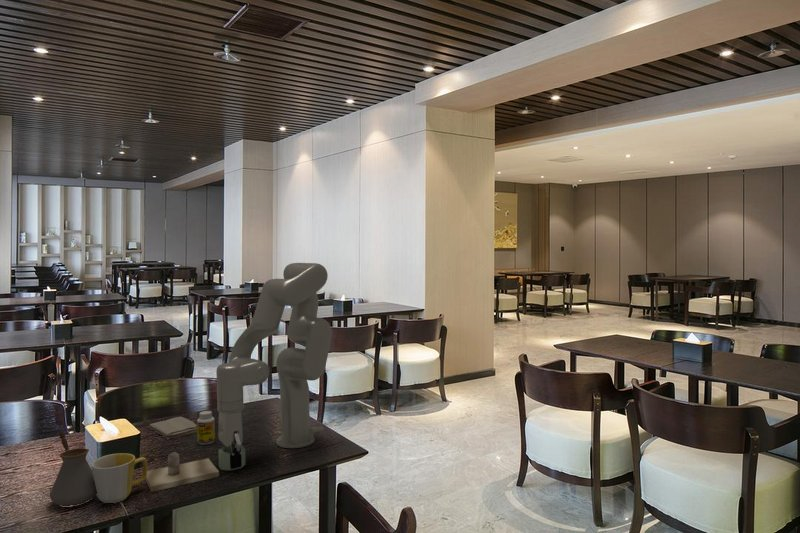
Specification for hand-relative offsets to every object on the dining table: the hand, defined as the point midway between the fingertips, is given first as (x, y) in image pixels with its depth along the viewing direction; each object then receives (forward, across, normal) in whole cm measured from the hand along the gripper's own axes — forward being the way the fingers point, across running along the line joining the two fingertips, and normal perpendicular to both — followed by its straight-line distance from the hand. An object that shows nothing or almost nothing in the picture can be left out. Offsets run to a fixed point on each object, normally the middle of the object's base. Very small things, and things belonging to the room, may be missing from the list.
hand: (232, 462), depth 171 cm
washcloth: (+2, -45, -8) cm, 46 cm away
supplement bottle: (+1, -25, -2) cm, 25 cm away
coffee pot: (+1, -4, -42) cm, 42 cm away
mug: (+1, +5, -30) cm, 31 cm away
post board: (+1, 0, -14) cm, 15 cm away
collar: (+1, 0, 0) cm, 1 cm away
